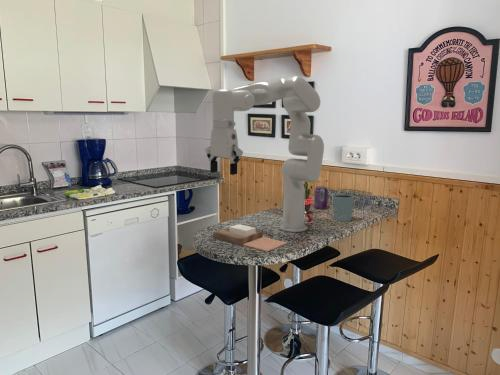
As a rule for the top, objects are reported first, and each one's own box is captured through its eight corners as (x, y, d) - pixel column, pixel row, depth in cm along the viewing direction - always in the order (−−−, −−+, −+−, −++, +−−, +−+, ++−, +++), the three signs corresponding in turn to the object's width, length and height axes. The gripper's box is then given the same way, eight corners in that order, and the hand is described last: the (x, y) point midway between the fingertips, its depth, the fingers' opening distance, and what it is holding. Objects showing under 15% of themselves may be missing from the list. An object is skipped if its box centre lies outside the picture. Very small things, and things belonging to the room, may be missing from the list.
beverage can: (329, 208, 219) (330, 187, 217) (322, 210, 214) (323, 188, 212) (319, 206, 223) (319, 185, 221) (311, 208, 218) (312, 187, 216)
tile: (239, 229, 166) (239, 224, 165) (255, 233, 160) (255, 227, 160) (229, 232, 161) (229, 227, 161) (246, 236, 156) (246, 230, 155)
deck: (235, 230, 173) (235, 225, 172) (262, 237, 163) (262, 231, 163) (213, 238, 162) (213, 232, 162) (240, 245, 153) (240, 239, 152)
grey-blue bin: (330, 220, 191) (331, 196, 189) (333, 216, 200) (334, 193, 198) (351, 222, 187) (353, 198, 185) (354, 218, 197) (355, 194, 195)
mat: (263, 237, 163) (263, 236, 163) (287, 243, 155) (287, 242, 155) (243, 245, 153) (243, 244, 153) (267, 251, 145) (267, 250, 145)
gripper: (248, 125, 136) (248, 174, 139) (213, 125, 147) (213, 170, 150) (234, 125, 130) (234, 176, 133) (198, 125, 141) (199, 172, 144)
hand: (223, 173), depth 141 cm, fingers open, 9 cm apart
